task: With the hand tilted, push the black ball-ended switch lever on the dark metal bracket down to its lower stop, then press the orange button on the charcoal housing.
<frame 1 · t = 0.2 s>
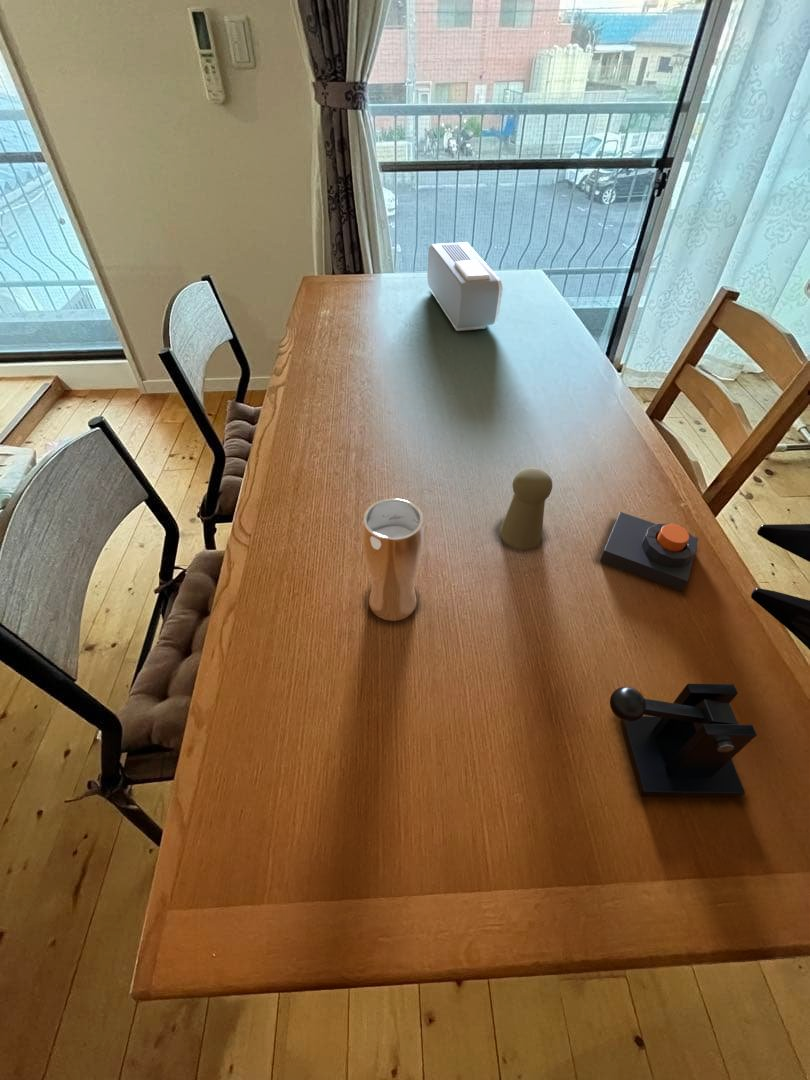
hand: (756, 559, 53), 18 cm above the table, tool horizontal, fingers open, 9 cm apart
button box: (646, 555, 78), on the table
beer glass: (392, 603, 72), on the table
button: (672, 537, 74), point 4 cm above the table, slide at 0.1 cm
alarm clock: (459, 310, 134), on the table
switch: (670, 710, 51), point 10 cm above the table, hinge at 15.0°
switch bracket: (677, 757, 58), on the table
olive game pawn: (520, 535, 81), on the table
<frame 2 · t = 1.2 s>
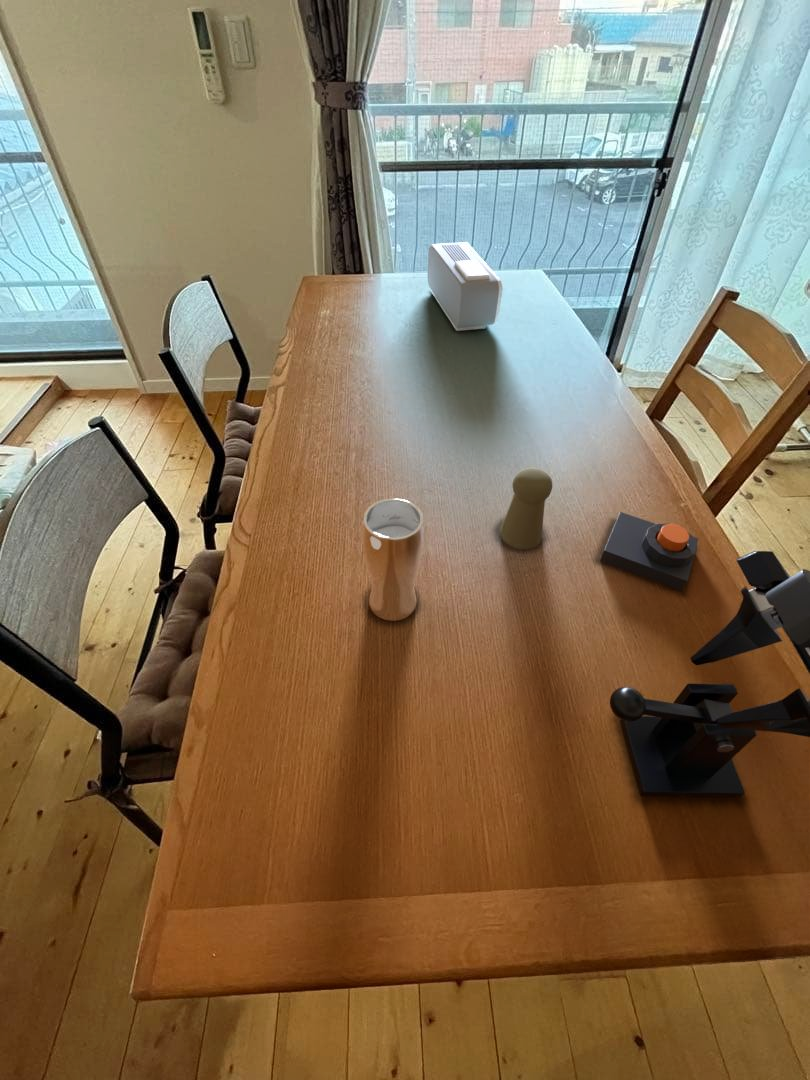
hand: (704, 691, 48), 14 cm above the table, tool tilted 45°, fingers open, 6 cm apart
nothing on the table moved.
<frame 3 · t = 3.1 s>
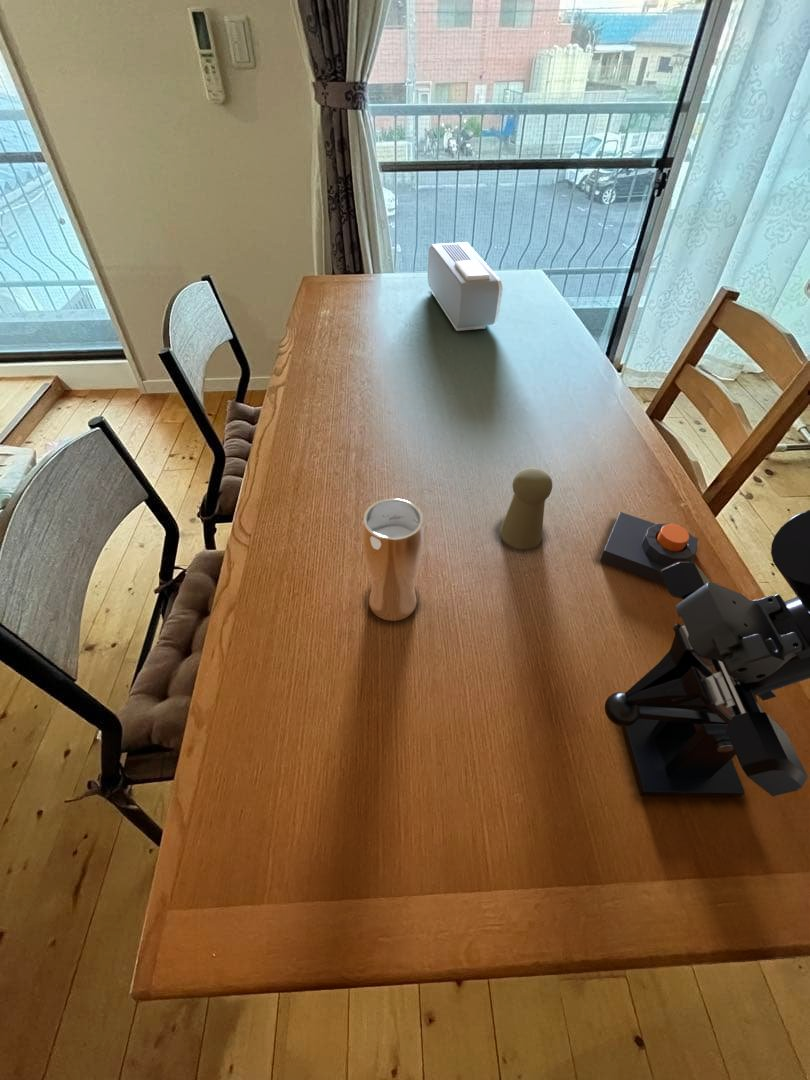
hand: (627, 699, 49), 12 cm above the table, tool tilted 45°, fingers closed
switch: (667, 713, 51), point 10 cm above the table, hinge at 8.6°
everything else where it was.
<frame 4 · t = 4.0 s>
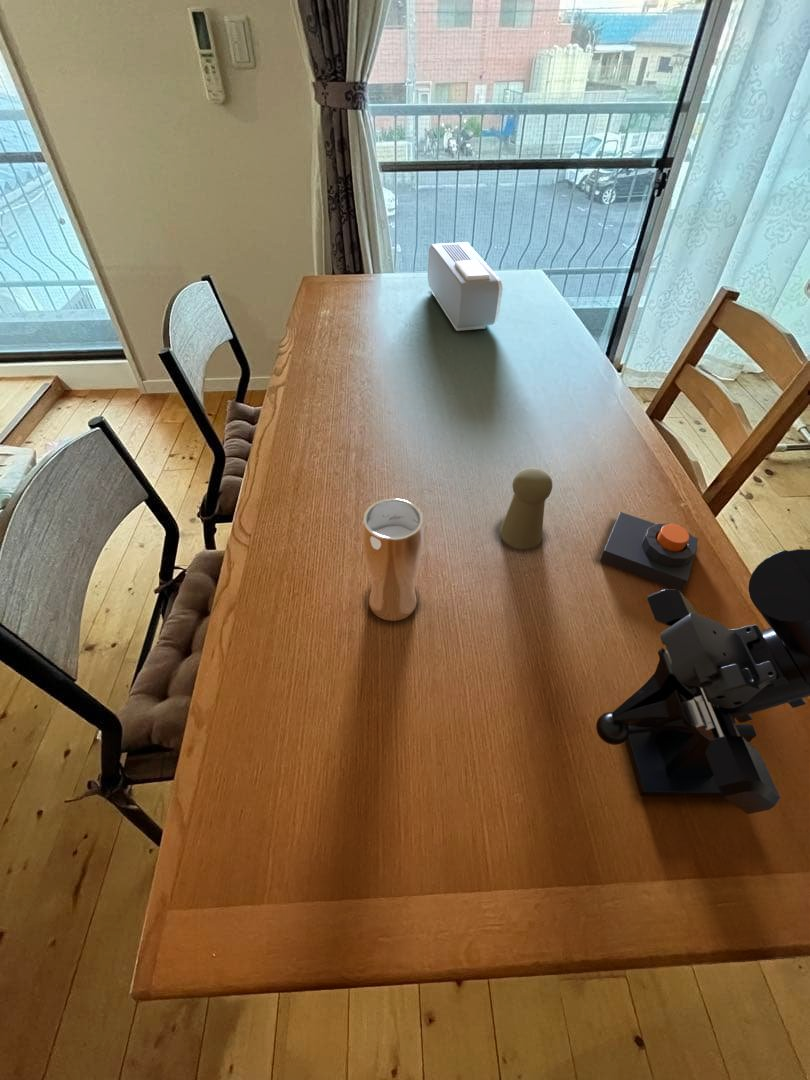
hand: (614, 719, 52), 8 cm above the table, tool tilted 45°, fingers closed, pressing on switch bracket
switch: (661, 723, 52), point 8 cm above the table, hinge at -16.2°
everything else where it was.
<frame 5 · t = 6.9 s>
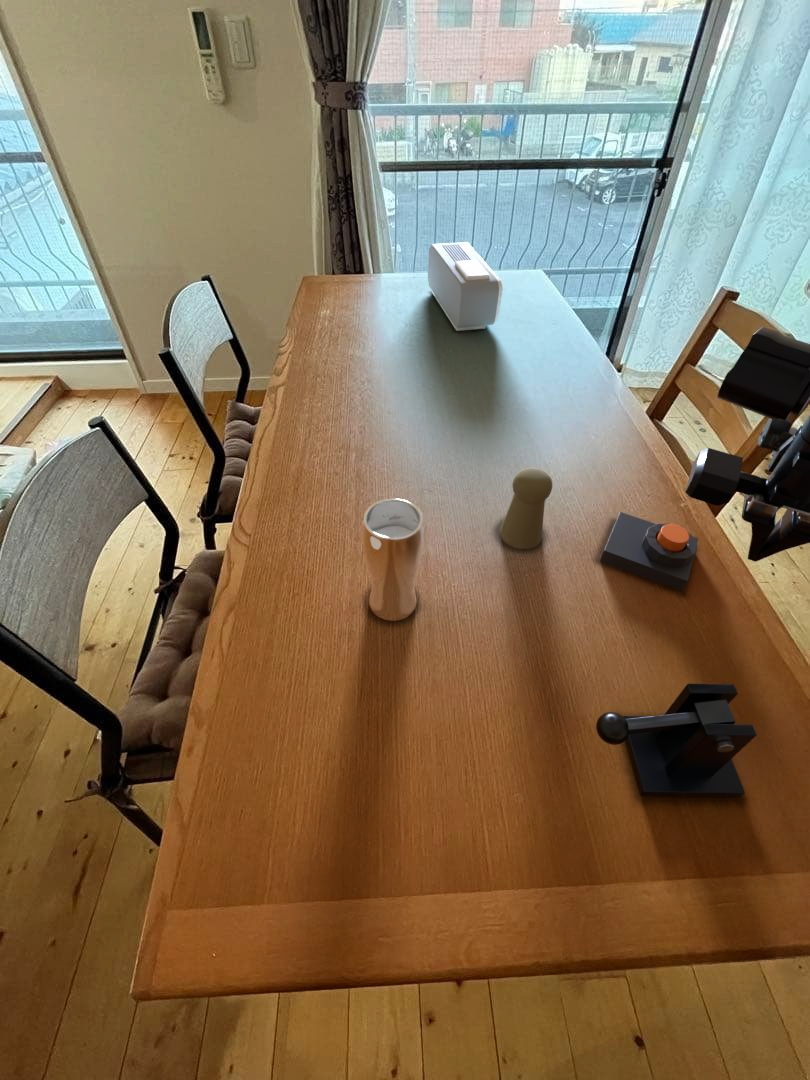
hand: (751, 557, 60), 13 cm above the table, tool pointing down, fingers closed
nothing on the table moved.
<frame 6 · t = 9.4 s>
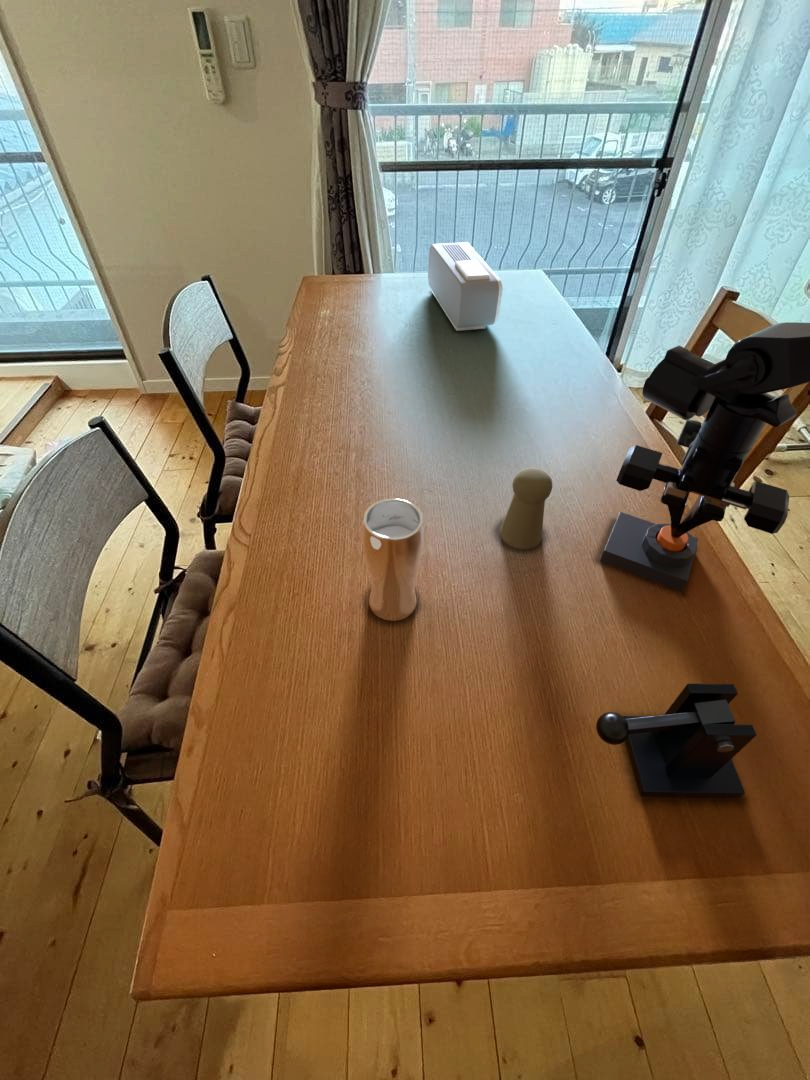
hand: (674, 535, 74), 5 cm above the table, tool pointing down, fingers closed, pressing on button
button: (672, 539, 74), point 4 cm above the table, slide at -0.2 cm, touching gripper
everything else where it was.
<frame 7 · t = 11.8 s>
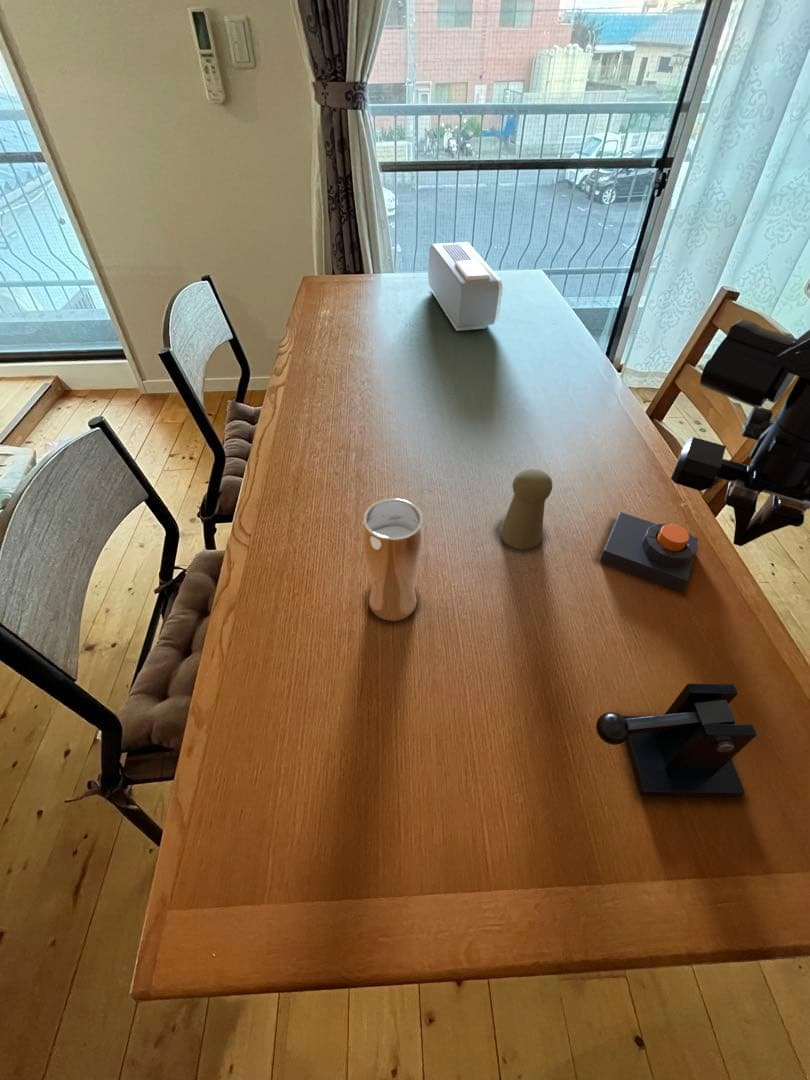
hand: (737, 542, 63), 12 cm above the table, tool pointing down, fingers closed
button: (672, 537, 74), point 4 cm above the table, slide at 0.1 cm
everything else where it was.
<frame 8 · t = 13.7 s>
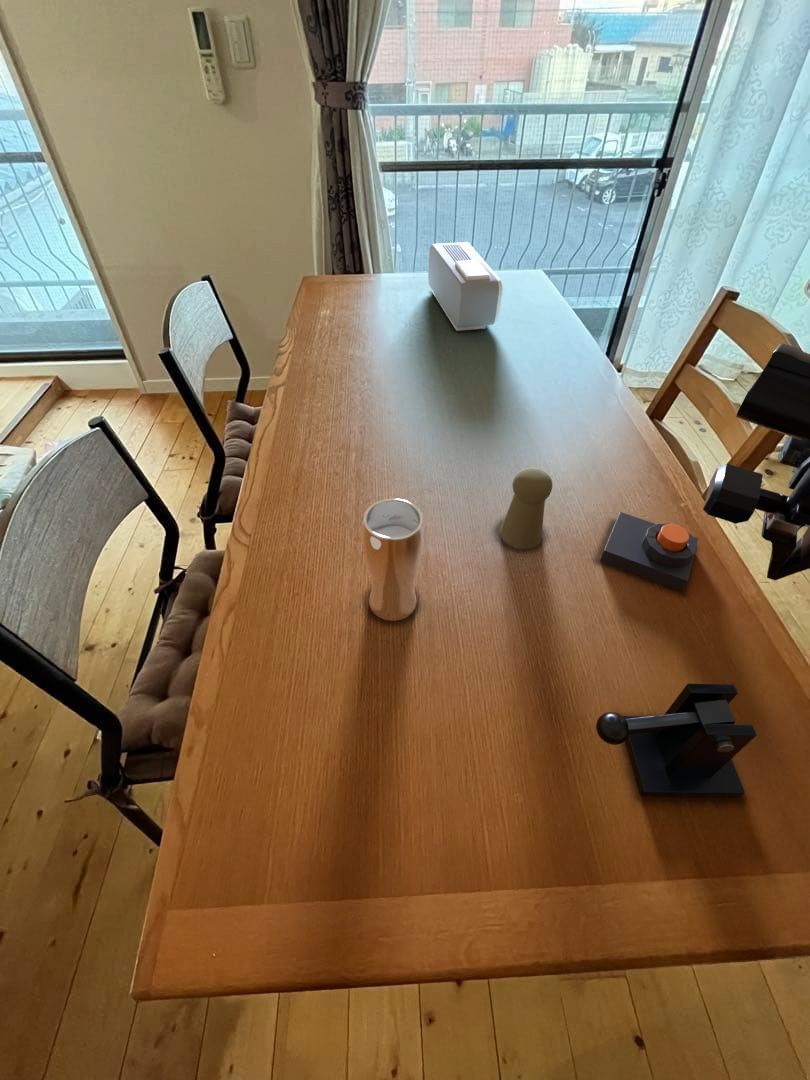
hand: (770, 576, 58), 13 cm above the table, tool pointing down, fingers closed
nothing on the table moved.
at the end: switch at -16° (first picture: +15°); button pushed in 1.1 cm at the most during the clip, back to where it started at the end; button slide at 0.1 cm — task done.
